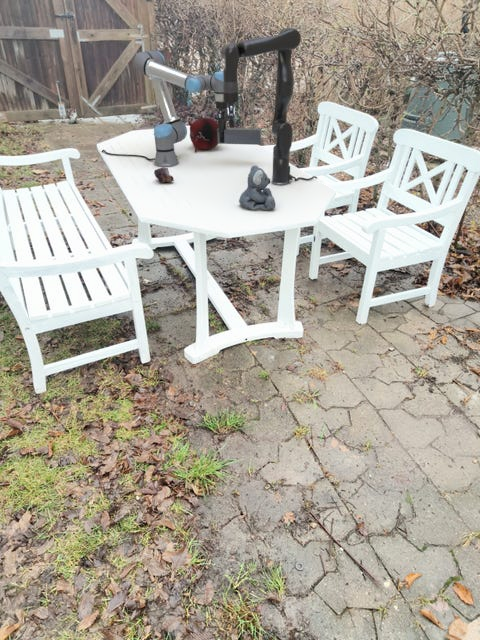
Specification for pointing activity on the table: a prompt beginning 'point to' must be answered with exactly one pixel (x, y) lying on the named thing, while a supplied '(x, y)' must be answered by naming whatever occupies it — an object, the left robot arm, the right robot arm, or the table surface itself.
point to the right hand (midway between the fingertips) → (231, 125)
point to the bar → (241, 136)
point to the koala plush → (257, 191)
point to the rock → (163, 175)
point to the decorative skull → (204, 133)
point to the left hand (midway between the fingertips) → (222, 141)
